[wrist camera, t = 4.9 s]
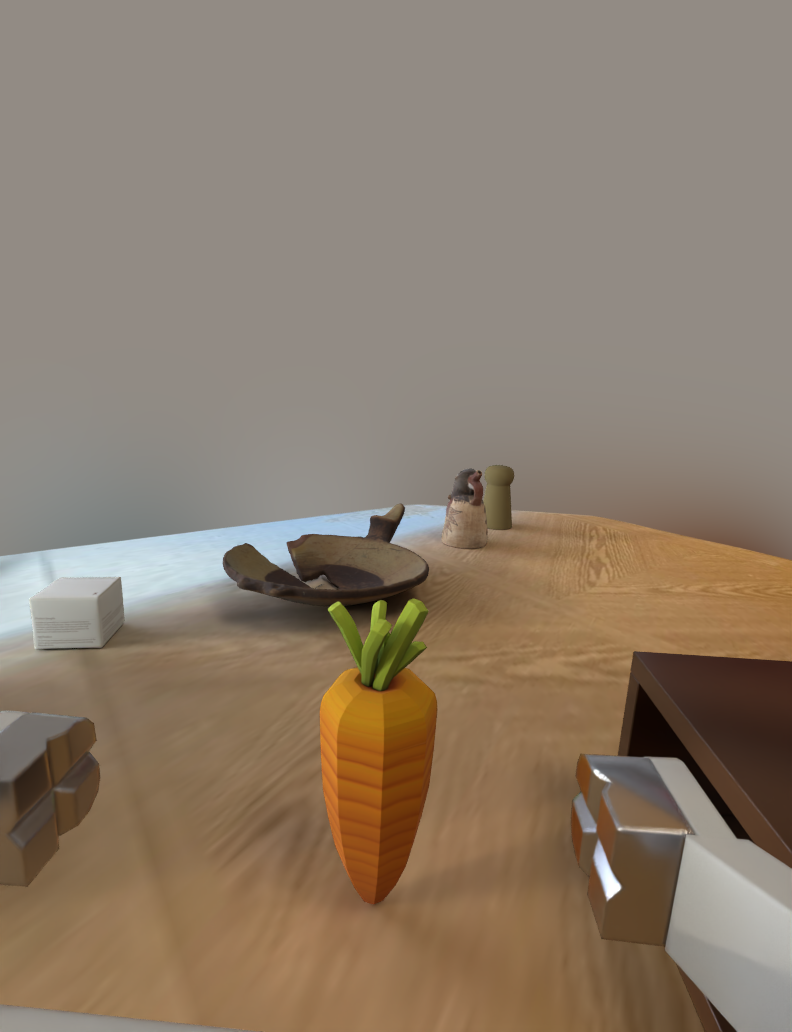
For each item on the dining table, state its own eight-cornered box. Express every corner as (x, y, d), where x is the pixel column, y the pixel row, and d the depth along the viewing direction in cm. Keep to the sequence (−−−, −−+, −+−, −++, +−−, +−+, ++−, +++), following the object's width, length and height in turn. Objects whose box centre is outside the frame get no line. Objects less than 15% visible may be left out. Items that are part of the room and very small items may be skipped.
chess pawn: (506, 531, 93) (511, 469, 90) (473, 526, 96) (478, 465, 93) (516, 524, 98) (521, 465, 96) (485, 519, 101) (489, 462, 98)
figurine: (471, 535, 89) (476, 464, 87) (495, 546, 83) (502, 471, 80) (434, 538, 86) (438, 465, 84) (456, 550, 80) (461, 472, 77)
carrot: (296, 905, 24) (294, 597, 21) (369, 838, 28) (377, 568, 25) (377, 982, 21) (390, 636, 18) (447, 896, 25) (468, 597, 22)
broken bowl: (183, 591, 60) (179, 526, 58) (379, 547, 80) (381, 497, 79) (290, 668, 44) (289, 582, 43) (501, 589, 65) (506, 528, 63)
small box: (126, 622, 52) (122, 574, 51) (102, 649, 46) (97, 597, 45) (64, 623, 51) (58, 575, 50) (32, 651, 46) (25, 598, 45)
